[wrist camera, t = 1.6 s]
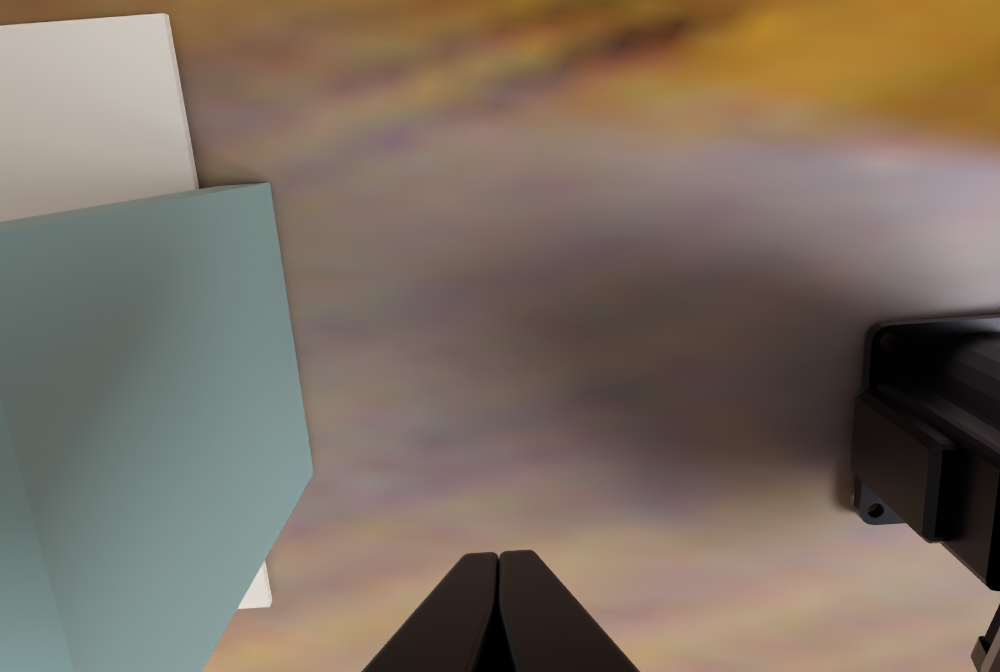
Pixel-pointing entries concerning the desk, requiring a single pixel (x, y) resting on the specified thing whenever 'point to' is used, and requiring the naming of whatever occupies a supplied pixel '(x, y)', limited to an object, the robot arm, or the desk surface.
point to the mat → (94, 126)
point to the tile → (142, 427)
